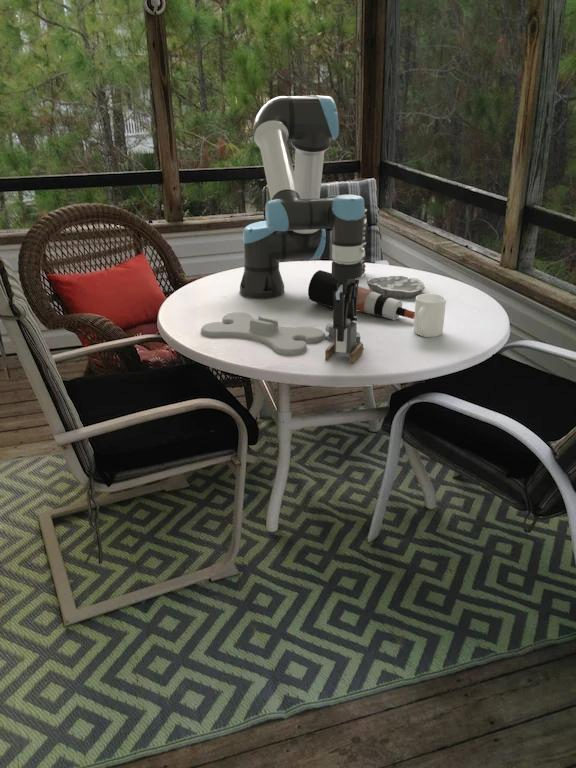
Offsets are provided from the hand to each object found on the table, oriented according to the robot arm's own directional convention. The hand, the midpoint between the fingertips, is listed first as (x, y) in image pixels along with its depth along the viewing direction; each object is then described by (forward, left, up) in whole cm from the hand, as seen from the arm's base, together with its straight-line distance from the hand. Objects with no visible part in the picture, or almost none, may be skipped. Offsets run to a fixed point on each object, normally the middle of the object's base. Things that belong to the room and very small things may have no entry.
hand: (344, 348), depth 172 cm
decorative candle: (-22, +74, -3) cm, 77 cm away
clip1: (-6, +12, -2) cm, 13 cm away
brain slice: (-2, +61, -3) cm, 61 cm away
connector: (0, 0, 0) cm, 0 cm away
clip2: (-1, +7, -2) cm, 8 cm away
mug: (+16, +24, -3) cm, 29 cm away
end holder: (0, 0, -2) cm, 2 cm away
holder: (-27, +7, -3) cm, 28 cm away
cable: (-6, +35, -3) cm, 36 cm away
